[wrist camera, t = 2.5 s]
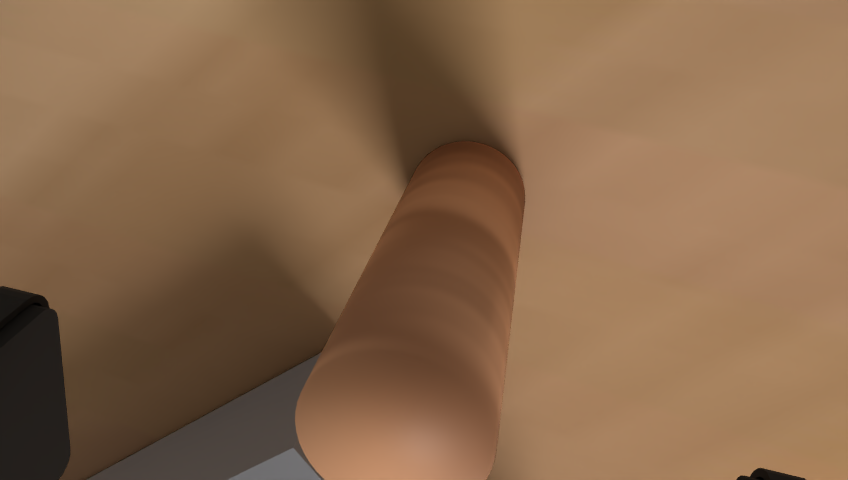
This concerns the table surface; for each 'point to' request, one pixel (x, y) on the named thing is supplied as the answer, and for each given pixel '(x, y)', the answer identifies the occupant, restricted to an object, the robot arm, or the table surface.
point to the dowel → (424, 332)
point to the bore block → (231, 440)
